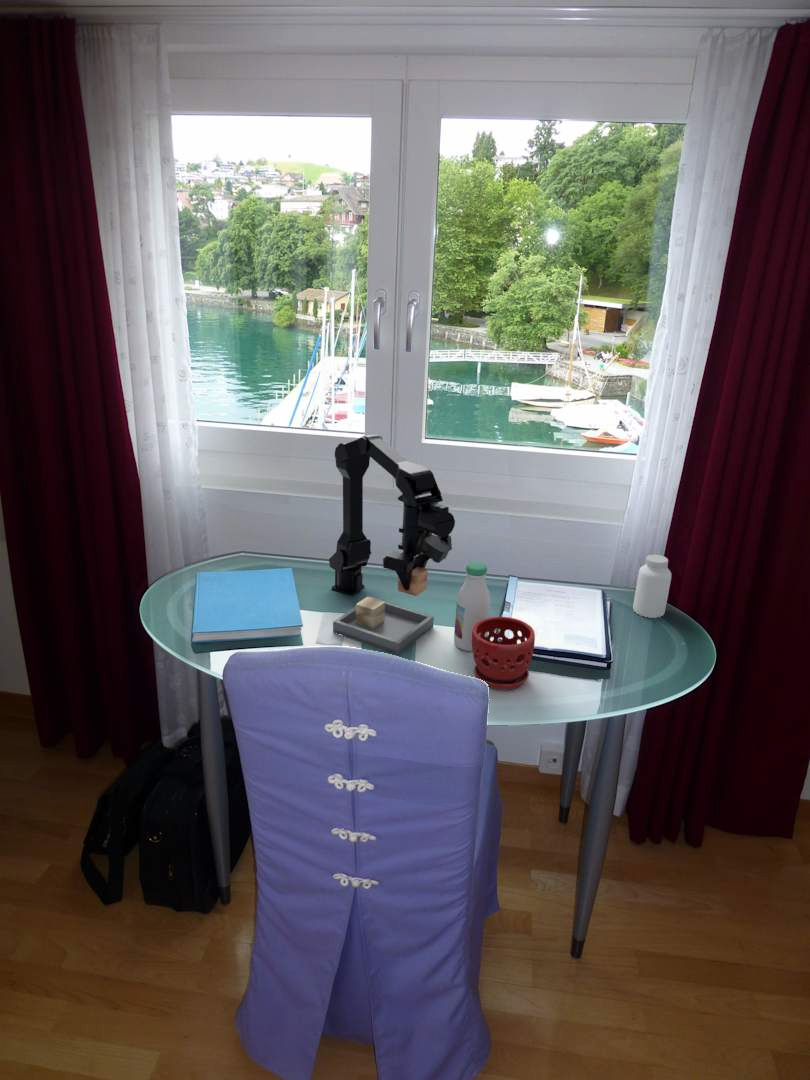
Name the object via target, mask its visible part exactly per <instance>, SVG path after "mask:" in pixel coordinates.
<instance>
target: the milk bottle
mask: <svg viewBox="0 0 810 1080" xmlns="http://www.w3.org/2000/svg"><path fill="white" fill-rule="evenodd" d="M487 569H488V566H487V565H486V564H485V563H482V562H480V561H472V562H468V563H467V564H466V568H465V575H466V578H465V580H464V583H463V584H462V585H461V588H460V590H459V592H458V593H457V600H456V605H455V606H456V608H455V618H454V619H455V620H454V621H455V622H454V633H453V643H454V645H455V647H456V648H458V649H459V650H461V651H465V652H472V653H473V650H472V630H473V627H474V625H475V624H476V623H477V622H479V621H481V620H483V619H487V618H491V617H490V615H491V593H490V591H489V587H488V586H487V583H486V576H487V573H488V572H487V571H488V570H487ZM488 634H489V632H486V633H485V637H487V636H488ZM479 636H480V633H479Z"/></svg>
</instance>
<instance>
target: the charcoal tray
mask: <svg viewBox="0 0 810 1080" xmlns="http://www.w3.org/2000/svg"><path fill="white" fill-rule="evenodd" d="M369 597H370V596H369ZM370 598H374V599H377V600H380V601H383V602H385V617H384V621H383V622H382V623H380V624H379V625H378V626H376V627H375V628H373V629H372V628H369V627H366V626H363V625H360V624H357V623H355V619H356V606H355V607H352V608H351V609H350V610H348V611H347V612H344V614H342V615H341V616H339V617H338V618H336V619H334V620H333V621H332V633H333V632H334V633H333V634H335V633H337V634H336V635H338V634H341V635H343V636H342V637H344V636H345V638H347V639H350V640H353V641H356V642H359V643H362V644H365V645H368V646H370V647H374V648H375V649H379V650H382V651H384V652H385V651H386V652H387V653H391V654H394V655H396V656H399V655H400V654H402V653H403V652H404V651H405V650H407V649H408V648H409V647H410V646H412V645H413V644H414V643H415V642H417V641H418V640H419V639H421V638H422V637H423V636H425V635H426V634H427V633H428V632H430V631H431V630H432V629H433V628H434V622H435V621H434V619H435V618H434V615H429V614H426V613H423V612H420V611H417V610H414V609H410V608H407V607H404V606H401V605H398V604H394V603H391V602H387V601H385V600H382V599H378V598H375V597H372V596H371V597H370ZM341 635H340V636H341Z"/></svg>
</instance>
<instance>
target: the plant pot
mask: <svg viewBox="0 0 810 1080" xmlns="http://www.w3.org/2000/svg"><path fill="white" fill-rule="evenodd" d="M496 629H499V632H495V630H496ZM507 630H509V631H510V632H512V634H513V635H512V637H511V638H508V637H507V636H506V634H505V633H506V631H507ZM486 632H488V636H487V637H485V633H486ZM518 632H520V633H521V636H520V635H519V633H518ZM479 633H480V636H479ZM535 636H536V634H535V630H534V628H533V627H532V626H531V625H530V624H529V623H527V622H525V621H523V620H520V619H518V618H513V617H509V616H493V617H489V618H487V619H483V620H481V621H479V622H477V623H476V624H475V625H474V627H473V630H472V650H473V652H472V656H473V660H474V663H475V667H474V675H475V676H476V679H478V678H479V679H481V680H483V681H485V682H486V683H487V684H488V685H489V687H488V688H490V689H491V688H492V689H495V688H496V690H502V689H507V690H513V689H517V688H519V687H521V686H523V685H524V684H525V683H526V682H527V681H528V679H529V677H530V673H529V669H528V668H529V666H530V664H531V662H532V660H533V659H532V658H533V654H534V650H535V642H536V639H535ZM491 638H493V640H491ZM499 638H500V639H502V640H500V641H499ZM518 641H520V642H519V643H518Z"/></svg>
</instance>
